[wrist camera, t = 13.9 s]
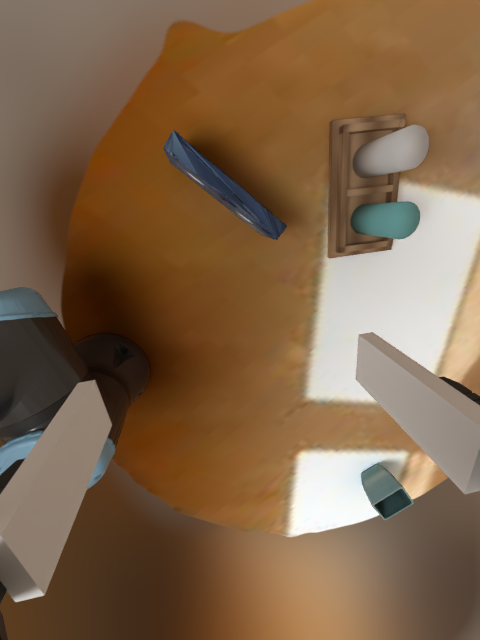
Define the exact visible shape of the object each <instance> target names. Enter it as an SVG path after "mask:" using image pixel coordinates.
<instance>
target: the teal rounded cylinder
mask: <svg viewBox="0 0 480 640" xmlns="http://www.w3.org/2000/svg"><path fill="white" fill-rule="evenodd" d="M419 221H420V211H419V209H418V207H417V206H416V205H415V204H414V203H412V202H392V203H371V204H362V205H360V206H358V207H357V208H356V209H355V210H354V212H353V213H352V216H351V220H350V223H351V227H352V229H353V230H354V231H355V232H356V233H358V234H365V235H372V236H379V237H387V238H394V239H404V238H406V237H408V236H410V235H411V234H412V233H413V232H414V231H415V230H416V228H417V226H418V224H419Z"/></svg>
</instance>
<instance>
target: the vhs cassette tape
mask: <svg viewBox="0 0 480 640" xmlns="http://www.w3.org/2000/svg"><path fill="white" fill-rule="evenodd" d="M163 149H164V151H165V153H166V155H167V157H168V159H169V161H170V163H171V164H172V165H174V166H175V167H177V168H178V169H179V170H180V171H181V172H183V173H184V174H185V175H186V176H188V177H189V178H190V179H192V180H193V181H194V182H195V183H197V184H198V185H199V186H200V187H201V188H203V189H204V190H205V191H207V192H208V193H209V194H210V195H212V196H213V197H214V198H215V199H217V200H218V201H219V202H220V203H222V204H223V205H224V206H225V207H227V208H228V209H229V210H231V211H232V212H233V213H234V214H236V215H237V216H238V217H239V218H241V219H242V220H243V221H244V222H246V223H247V224H248V225H249V226H251V227H252V228H253V229H255V230H256V231H257V232H258V233H260V234H261V235H263V236H266V237H269V238H272V239H276V240H278V237H279V236H280V235H281V234H282V233H283V232H284V230H285V229H286V227H287V226H286V225H285V224H284V223H282V222H281V221H280V220H279V219H278V218H277V217H275V216H274V215H273V214H272V212H270V211H269V210H268V209H267V208H265V207H264V206H263V205H262V204H261V203H259V202H258V201H256V200H255V199H254V198H253V197H252V196H251V195H250V194H249V193H248V192H247V191H245V190H244V189H243V188H242V187H241V186H240V185H239V184H238V183H236V182H235V181H234V180H233V179H232V178H230V177H229V176H228V175H226V174H225V173H224V172H223V171H222V170H221V169H220V168H218V167H217V166H216V165H215V164H213V163H212V162H211V161H210V160H208V159H207V158H206V157H205V156H203V155H202V154H201V153H200V152H199V151H198V150H196V149H195V148H194V147H193V146H192V145H191V144H189V143H188V142H187V141H186V140H185V139H183V138H182V137H181V136H180V135H179V134H178V133H177V132H175V131H174V130H173V132H172V134H171V135H170V137H169V139H168V140H167V142H166V144H165V146H164V148H163Z"/></svg>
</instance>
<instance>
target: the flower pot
mask: <svg viewBox="0 0 480 640" xmlns="http://www.w3.org/2000/svg"><path fill="white" fill-rule="evenodd" d="M361 480H362V485H363V488H364V490H365V492H366V494H367V496H368V498H369V500H370V502H371V505H372V506H373V508H374V509H375V510H376V511H377V512H378V513H379V514H380V516H381V517H382V518H383V519H384V520H387V519H389V518H390V517H392V516H393V515H395V514H397V513H399V512H400V511H402V510H404V509H405V508H407V507H409V506H411V505H412V504H413V503H414V502H413V501H412V499H411V498H410V496H409V495H408V493H407V492H406V491H405V489H404V488H403V486H402V485H401V484H400V483H399V482H398V481H397V480H396V479H395V478H394V476H393V475H392V474H391V473H390V472H389V471H388V470H386V469H385V468H384V467H382V466H380V465H377V464H376V465H374V466H372V467H371V468H369V469H368V470H366V471H364V472H363V473H362V474H361Z"/></svg>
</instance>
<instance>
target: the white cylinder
mask: <svg viewBox="0 0 480 640" xmlns="http://www.w3.org/2000/svg"><path fill="white" fill-rule="evenodd" d="M428 149H429V136H428V133H427V131H426V130H425V129H424V128H423V127H422V126H419V125H411V126H408V127H406V128H403V129H401V130H398V131H396V132H393V133H391V134H388V135H386V136H383V137H381V138H378V139H376V140H373V141H371V142H368V143H366V144H364V145H362V146H360V147H359V148H358V149H357V151H356V152H355V154H354V157H353V161H352V166H353V170H354V172H355V174H356V175H357V176H358V177H360V178H369V177H374V176H379V175H384V174H390V173H395V172H400V171H405V170H410V169H413V168H415V167H417V166H418V165H419V164H420V163H421V162H422V161H423V160H424V158H425V157H426V155H427V152H428Z"/></svg>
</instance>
